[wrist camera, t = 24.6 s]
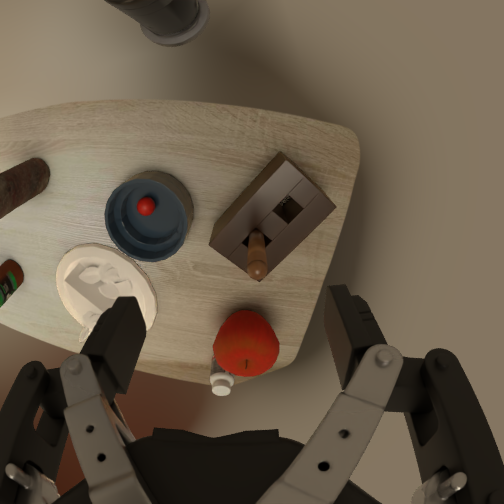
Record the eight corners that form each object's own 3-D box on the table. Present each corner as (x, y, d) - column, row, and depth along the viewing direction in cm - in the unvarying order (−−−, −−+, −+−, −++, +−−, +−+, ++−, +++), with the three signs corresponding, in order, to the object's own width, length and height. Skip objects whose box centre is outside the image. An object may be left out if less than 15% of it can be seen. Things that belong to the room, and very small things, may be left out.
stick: (247, 224, 51) (242, 272, 30) (256, 216, 51) (258, 258, 30) (255, 233, 52) (256, 287, 31) (265, 225, 51) (272, 274, 30)
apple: (211, 332, 63) (204, 382, 50) (225, 289, 58) (220, 340, 45) (264, 344, 65) (267, 394, 52) (284, 305, 60) (292, 356, 47)
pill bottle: (209, 361, 68) (205, 393, 59) (216, 348, 65) (213, 381, 57) (230, 367, 69) (228, 399, 60) (238, 354, 66) (237, 387, 58)
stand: (214, 224, 51) (208, 245, 44) (280, 151, 45) (286, 159, 38) (258, 258, 54) (259, 282, 47) (324, 191, 49) (336, 207, 42)
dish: (179, 320, 61) (168, 359, 51) (101, 345, 66) (85, 377, 56) (114, 224, 51) (87, 252, 41) (41, 268, 55) (16, 296, 45)
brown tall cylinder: (44, 199, 48) (-20, 244, 30) (22, 183, 46) (-43, 221, 28) (55, 167, 45) (-16, 203, 27) (31, 151, 43) (-40, 181, 25)
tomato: (159, 211, 49) (156, 193, 48) (152, 217, 46) (148, 198, 45) (143, 213, 49) (140, 195, 48) (135, 219, 47) (131, 200, 45)
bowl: (106, 215, 50) (91, 228, 45) (145, 153, 45) (132, 160, 40) (165, 259, 54) (156, 276, 49) (210, 204, 49) (205, 216, 44)
